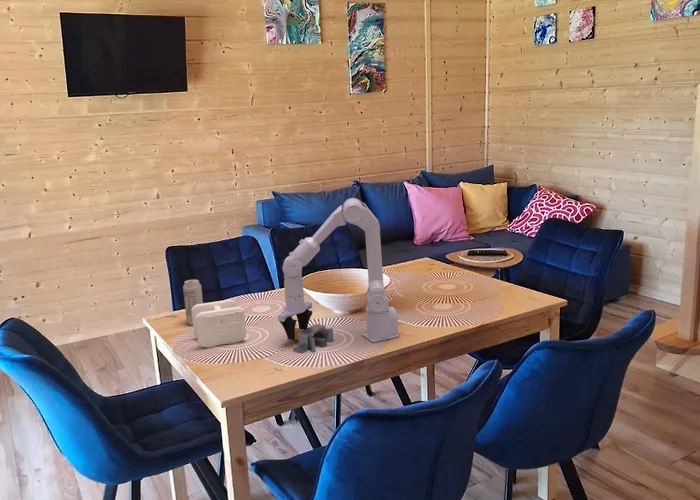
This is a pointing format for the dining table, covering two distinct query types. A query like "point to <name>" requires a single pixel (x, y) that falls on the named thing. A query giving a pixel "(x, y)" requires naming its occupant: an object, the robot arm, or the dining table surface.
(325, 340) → the grey and orange tool
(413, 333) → the dining table surface
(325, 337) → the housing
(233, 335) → the cable organizer
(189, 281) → the energy drink can
